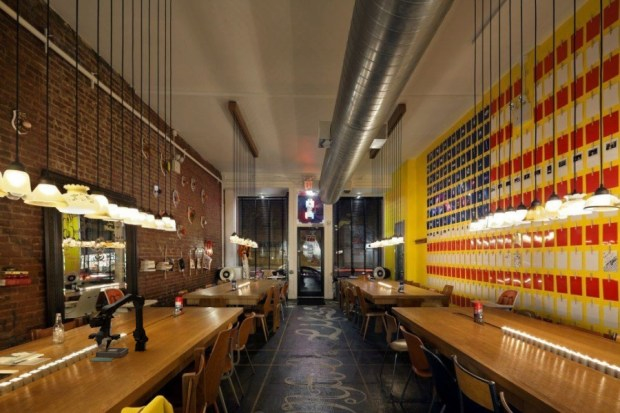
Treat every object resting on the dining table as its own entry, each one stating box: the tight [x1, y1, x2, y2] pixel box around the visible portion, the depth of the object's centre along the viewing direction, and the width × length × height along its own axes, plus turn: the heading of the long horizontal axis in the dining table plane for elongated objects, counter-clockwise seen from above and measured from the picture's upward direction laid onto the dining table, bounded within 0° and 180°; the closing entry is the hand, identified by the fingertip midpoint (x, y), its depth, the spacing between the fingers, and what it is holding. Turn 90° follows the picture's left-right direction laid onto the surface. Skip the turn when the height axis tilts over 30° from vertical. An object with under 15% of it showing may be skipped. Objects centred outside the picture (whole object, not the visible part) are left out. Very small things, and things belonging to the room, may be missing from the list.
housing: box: [95, 346, 130, 359], centre depth 268 cm, size 16×14×3 cm
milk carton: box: [95, 321, 114, 345], centre depth 293 cm, size 7×7×19 cm
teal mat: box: [89, 356, 114, 363], centre depth 255 cm, size 12×7×1 cm, turn 93°
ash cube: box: [98, 344, 108, 352], centre depth 256 cm, size 4×4×4 cm
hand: (103, 349), depth 255 cm, fingers closed on ash cube, 4 cm apart
